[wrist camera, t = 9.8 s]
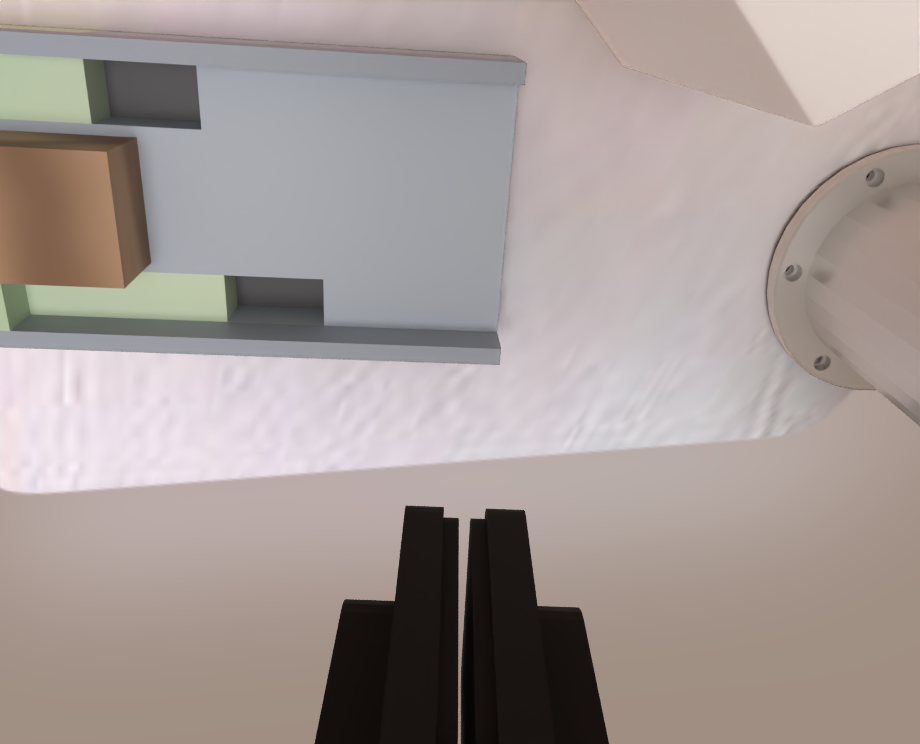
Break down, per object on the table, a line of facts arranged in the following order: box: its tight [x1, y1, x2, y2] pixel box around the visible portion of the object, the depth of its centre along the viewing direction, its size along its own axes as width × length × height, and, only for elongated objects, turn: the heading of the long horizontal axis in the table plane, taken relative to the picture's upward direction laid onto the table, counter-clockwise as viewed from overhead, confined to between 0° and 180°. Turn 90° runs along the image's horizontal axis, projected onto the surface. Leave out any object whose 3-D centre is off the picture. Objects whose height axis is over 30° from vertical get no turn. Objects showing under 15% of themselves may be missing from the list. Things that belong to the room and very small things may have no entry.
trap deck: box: [0, 24, 527, 365], centre depth 34 cm, size 22×13×4 cm, turn 87°
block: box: [0, 130, 151, 289], centre depth 32 cm, size 6×6×4 cm
